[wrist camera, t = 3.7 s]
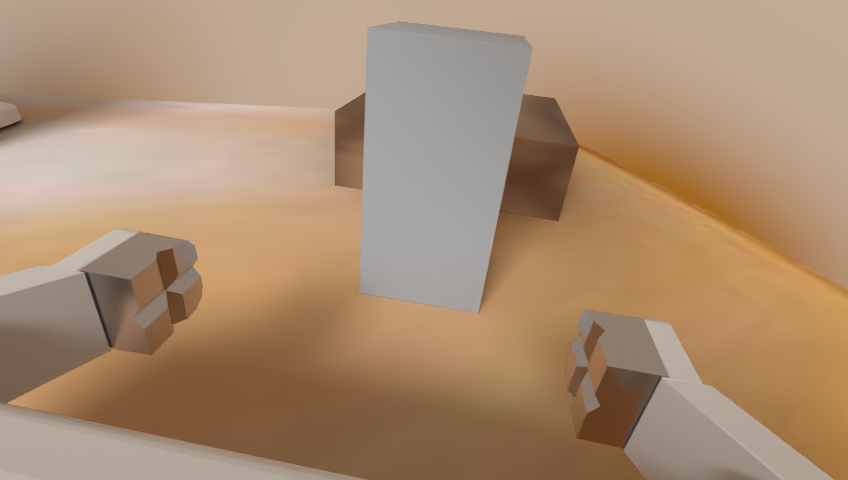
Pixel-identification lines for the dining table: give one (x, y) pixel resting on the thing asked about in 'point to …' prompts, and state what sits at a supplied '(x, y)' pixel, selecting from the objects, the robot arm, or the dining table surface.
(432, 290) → the slate block
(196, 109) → the dining table surface
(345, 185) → the walnut block
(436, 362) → the dining table surface
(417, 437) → the dining table surface
